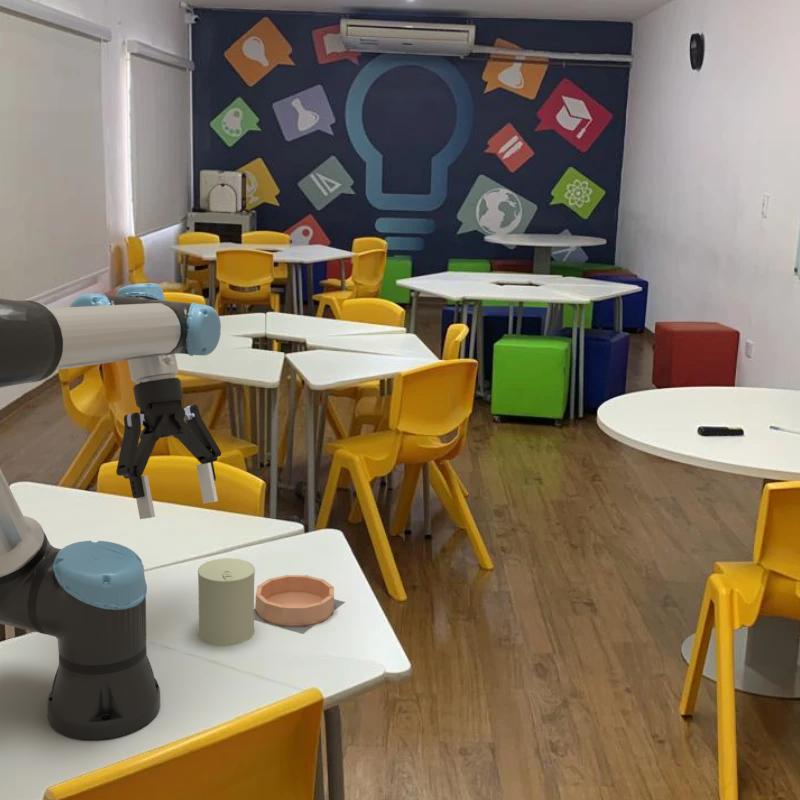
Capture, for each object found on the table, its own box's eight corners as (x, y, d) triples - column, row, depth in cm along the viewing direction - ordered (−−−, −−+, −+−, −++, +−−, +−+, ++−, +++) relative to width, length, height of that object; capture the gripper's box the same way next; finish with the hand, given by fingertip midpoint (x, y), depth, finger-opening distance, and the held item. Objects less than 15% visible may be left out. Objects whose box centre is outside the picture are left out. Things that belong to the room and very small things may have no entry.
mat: (303, 635, 161) (303, 633, 161) (242, 618, 166) (242, 616, 166) (345, 604, 173) (345, 602, 173) (287, 588, 178) (287, 586, 178)
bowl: (307, 633, 161) (308, 614, 160) (240, 614, 166) (240, 596, 165) (347, 603, 172) (347, 585, 171) (283, 586, 178) (284, 569, 177)
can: (199, 650, 155) (199, 580, 152) (195, 624, 163) (195, 557, 160) (258, 645, 157) (258, 576, 154) (251, 619, 166) (251, 553, 163)
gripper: (108, 382, 145) (134, 522, 144) (227, 370, 165) (250, 494, 165) (77, 390, 149) (102, 527, 149) (196, 378, 170) (219, 498, 169)
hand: (180, 510), depth 157 cm, fingers open, 13 cm apart
